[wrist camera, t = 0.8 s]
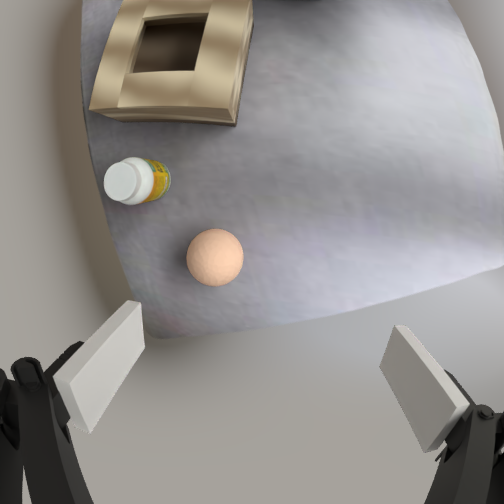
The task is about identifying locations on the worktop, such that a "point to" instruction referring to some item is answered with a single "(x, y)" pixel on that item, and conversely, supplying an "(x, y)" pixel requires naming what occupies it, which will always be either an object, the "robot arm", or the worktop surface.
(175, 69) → the drop box
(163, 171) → the supplement bottle
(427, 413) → the robot arm
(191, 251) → the egg
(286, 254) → the worktop surface
